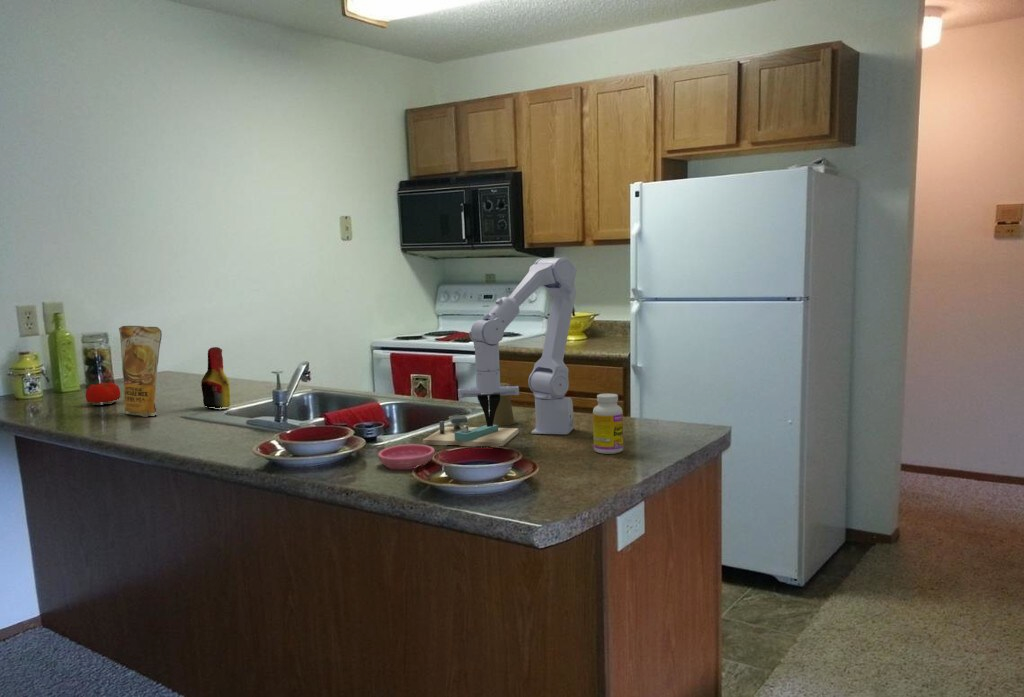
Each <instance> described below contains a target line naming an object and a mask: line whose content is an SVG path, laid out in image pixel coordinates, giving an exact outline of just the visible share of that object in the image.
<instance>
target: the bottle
mask: <svg viewBox="0 0 1024 697" xmlns="http://www.w3.org/2000/svg"><path fill="white" fill-rule="evenodd" d="M200 384H201V385H200V386H201V393H202V398H203V399H202V402H203V406H204V407H205V406H207V407H215V408H220V407H221V408H222V407H229V406H230V407H231V384H230V380H229V379H228V377H227V375H226V374H225V372H224V359H223V348H220V347H218V346H214V347H213V346H212V347H210V348H208V350H207V371H206V372H205V374H204V376H202V379H201V382H200ZM230 407H229V408H230Z"/></svg>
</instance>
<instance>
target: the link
mask: <svg viewBox="0 0 1024 697" xmlns="http://www.w3.org/2000/svg"><path fill="white" fill-rule="evenodd" d="M498 428H499V426H498V425H493V426H492V427H487V424H485V425H481V426H478V428H475V429H472V430H468V431H469V432H468V433H463V430H461V431H458V432H455V440H460V441H470V440H473V439H476V438H477V437H480V436H483V435H486V434H489V433H492V432H495V431H498Z"/></svg>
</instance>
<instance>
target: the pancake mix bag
mask: <svg viewBox="0 0 1024 697" xmlns="http://www.w3.org/2000/svg"><path fill="white" fill-rule="evenodd" d="M118 330H119V337H120V352H121V353H120V354H121V372H122V376H123V377H122V379H123V384H124V386H123V387H124V388H123V389H124V390H123V391H124V412H125V411H129V412H137V413H155V412H156V410H157V408H156V403H155V398H156V389H157V388H156V386H157V376H158V365H159V357H160V356H159V355H160V347H161V344H162V343H161V342H162V337H163V336H162V334H163V333H162V329H160V328H159V327H158V326H143V325H142V326H141V325H122V326H120V327H118Z"/></svg>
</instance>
